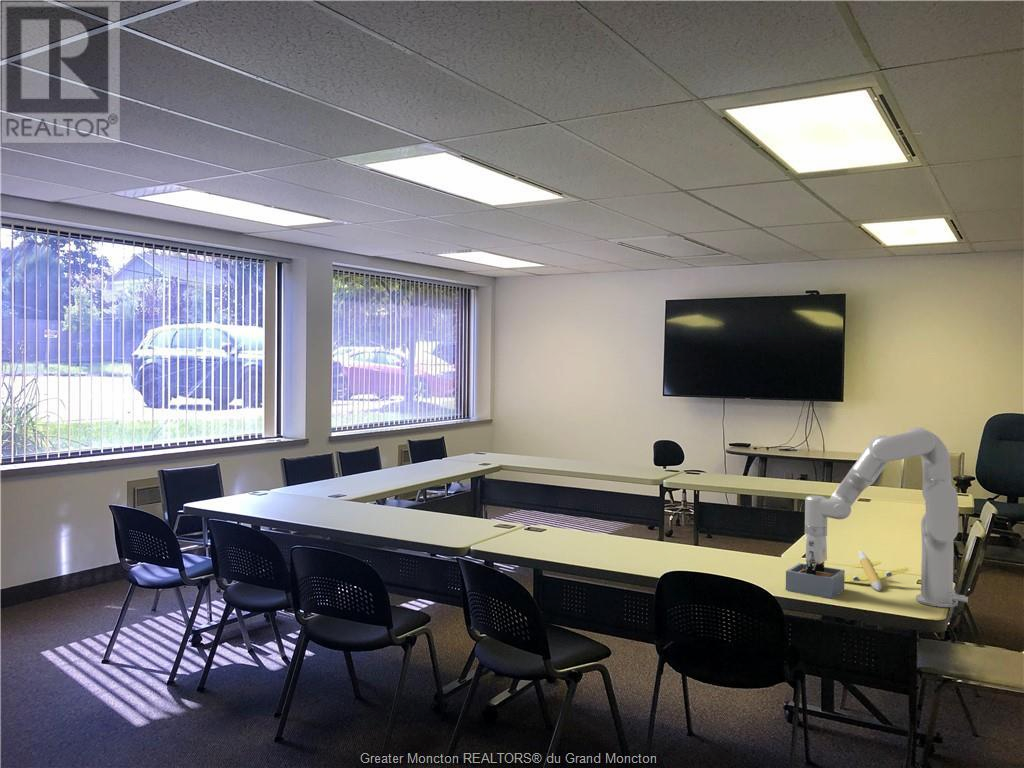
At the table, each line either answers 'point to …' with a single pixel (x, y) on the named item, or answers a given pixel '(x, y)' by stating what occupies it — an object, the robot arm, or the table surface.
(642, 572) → the table surface
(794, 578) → the blue-grey open box
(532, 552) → the table surface
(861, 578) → the toy jet
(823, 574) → the walnut crate
